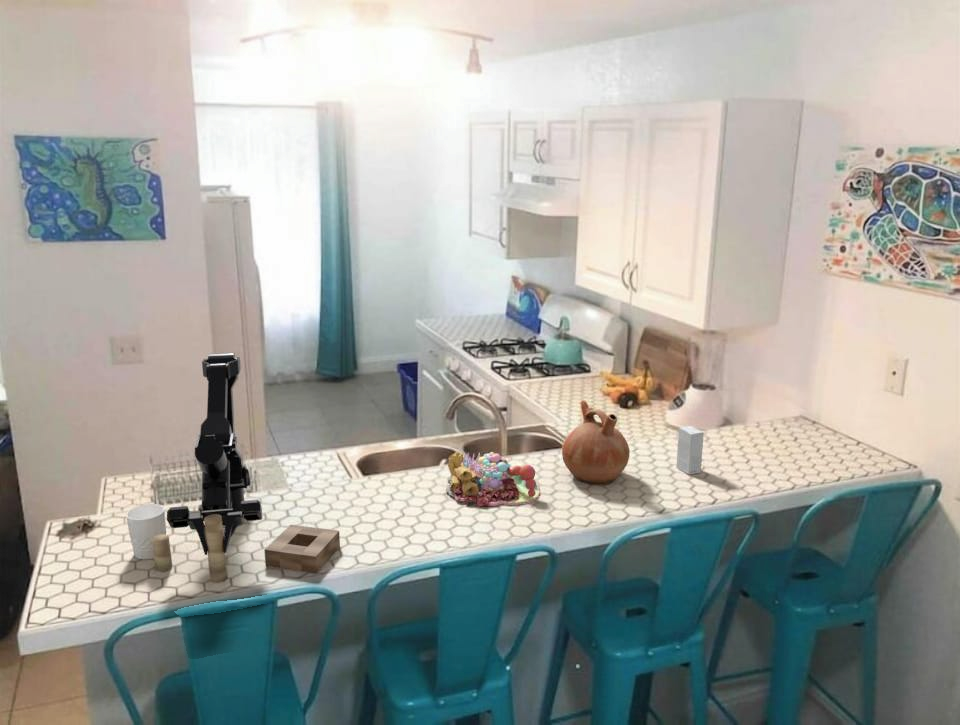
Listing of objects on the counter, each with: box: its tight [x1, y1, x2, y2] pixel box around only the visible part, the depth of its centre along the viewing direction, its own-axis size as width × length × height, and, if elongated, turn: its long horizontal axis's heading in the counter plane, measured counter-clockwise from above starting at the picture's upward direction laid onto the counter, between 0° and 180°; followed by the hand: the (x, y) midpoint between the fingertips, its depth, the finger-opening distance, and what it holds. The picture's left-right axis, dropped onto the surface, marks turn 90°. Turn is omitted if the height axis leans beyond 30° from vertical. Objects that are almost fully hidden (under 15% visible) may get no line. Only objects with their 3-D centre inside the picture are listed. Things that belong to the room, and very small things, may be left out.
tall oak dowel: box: [203, 514, 228, 584], centre depth 166 cm, size 3×3×14 cm
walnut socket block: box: [264, 524, 341, 574], centre depth 177 cm, size 12×12×4 cm
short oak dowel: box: [152, 534, 173, 573], centre depth 172 cm, size 3×3×7 cm
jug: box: [561, 399, 631, 486], centre depth 217 cm, size 18×18×20 cm
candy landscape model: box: [445, 451, 541, 508], centre depth 211 cm, size 25×24×9 cm
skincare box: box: [675, 425, 705, 475], centre depth 222 cm, size 6×4×12 cm
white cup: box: [125, 503, 167, 560], centre depth 178 cm, size 8×8×10 cm
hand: (215, 553), depth 165 cm, fingers closed on tall oak dowel, 3 cm apart
